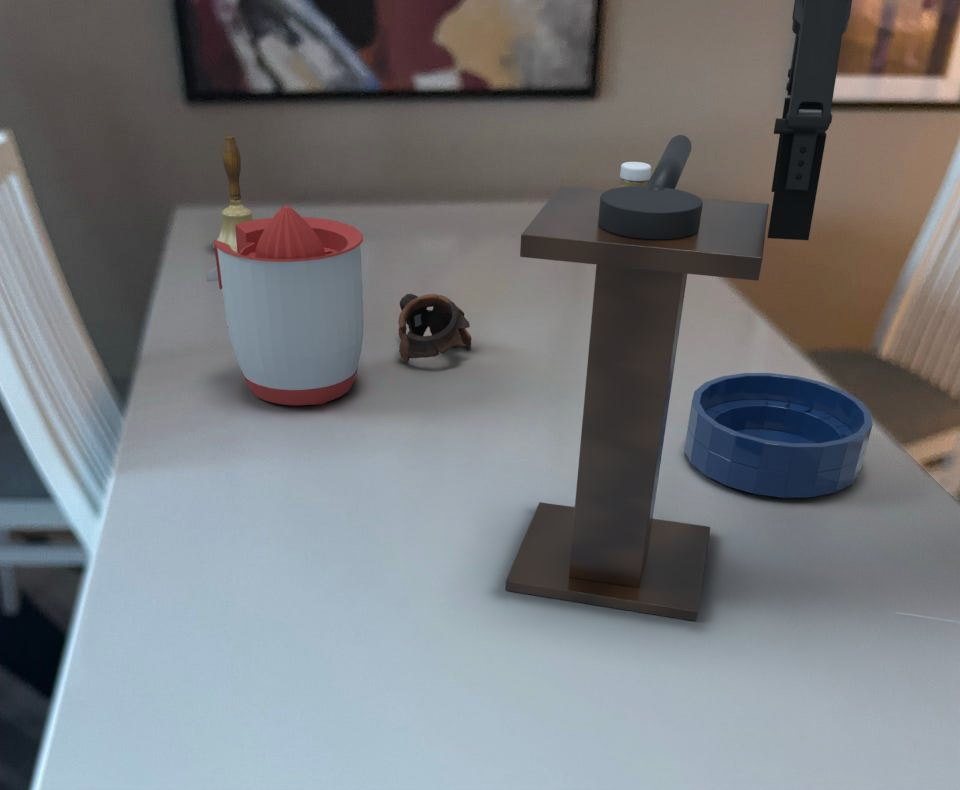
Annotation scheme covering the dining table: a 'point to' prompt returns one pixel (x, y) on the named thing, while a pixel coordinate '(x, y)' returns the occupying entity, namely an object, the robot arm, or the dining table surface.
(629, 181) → the sprinkles bottle
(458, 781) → the dining table surface
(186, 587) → the dining table surface
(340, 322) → the citrus juicer
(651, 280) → the wooden pedestal stand
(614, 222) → the long-handled flat disc
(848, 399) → the bowl
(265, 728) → the dining table surface
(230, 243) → the hand bell
